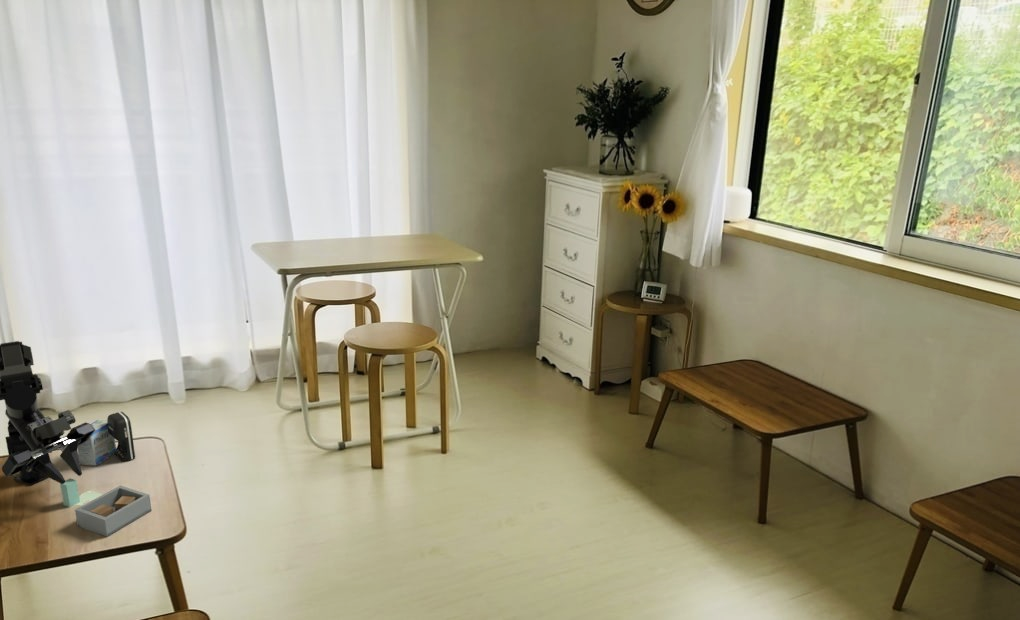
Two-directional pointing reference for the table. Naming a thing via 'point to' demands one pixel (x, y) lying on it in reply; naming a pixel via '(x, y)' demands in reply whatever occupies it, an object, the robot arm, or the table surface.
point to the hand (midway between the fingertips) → (72, 478)
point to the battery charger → (122, 435)
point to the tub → (117, 518)
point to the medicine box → (97, 445)
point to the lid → (76, 494)
